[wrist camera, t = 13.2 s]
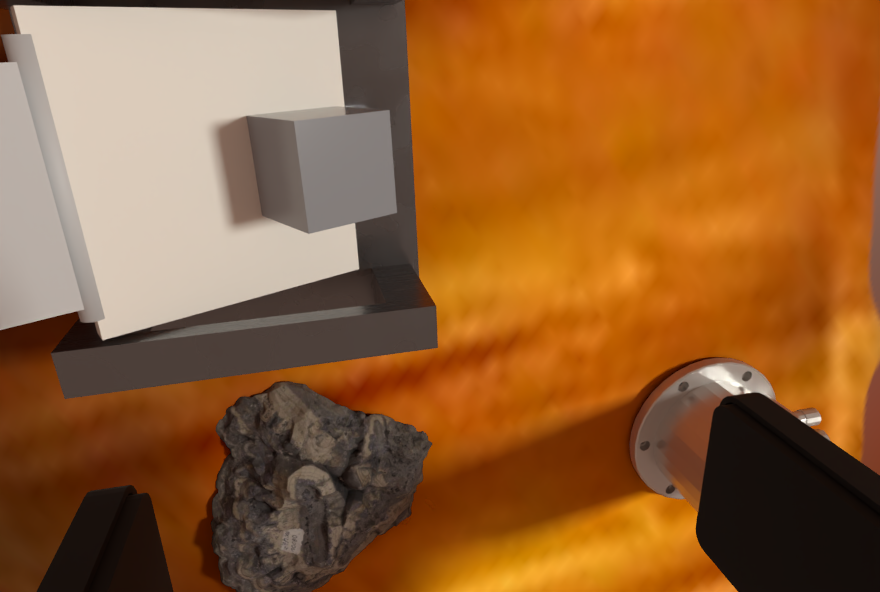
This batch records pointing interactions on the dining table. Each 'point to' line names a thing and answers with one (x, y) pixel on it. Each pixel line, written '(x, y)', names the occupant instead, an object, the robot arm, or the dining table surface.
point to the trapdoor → (153, 161)
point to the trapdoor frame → (306, 306)
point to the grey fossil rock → (307, 487)
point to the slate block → (323, 166)
